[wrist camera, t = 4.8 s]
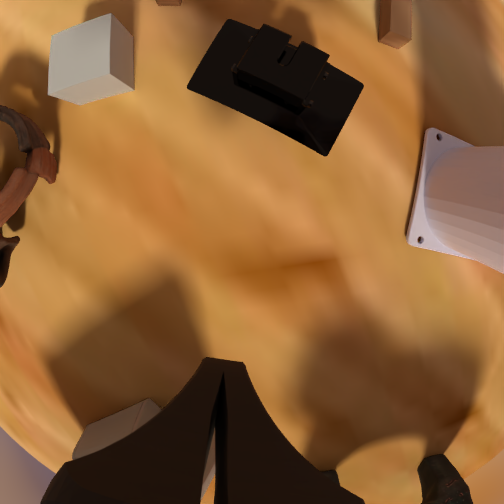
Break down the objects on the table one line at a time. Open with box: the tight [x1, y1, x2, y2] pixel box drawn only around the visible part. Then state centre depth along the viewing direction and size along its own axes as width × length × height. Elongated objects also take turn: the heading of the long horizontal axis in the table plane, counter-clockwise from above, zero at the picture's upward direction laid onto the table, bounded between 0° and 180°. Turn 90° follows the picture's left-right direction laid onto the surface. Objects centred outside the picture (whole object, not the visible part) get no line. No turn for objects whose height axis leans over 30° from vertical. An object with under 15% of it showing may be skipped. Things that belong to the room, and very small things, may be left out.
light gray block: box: [48, 13, 135, 105], centre depth 14 cm, size 4×4×4 cm
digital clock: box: [72, 399, 215, 499], centre depth 18 cm, size 16×9×11 cm, turn 112°
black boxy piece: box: [187, 19, 364, 156], centre depth 15 cm, size 12×7×5 cm, turn 63°
